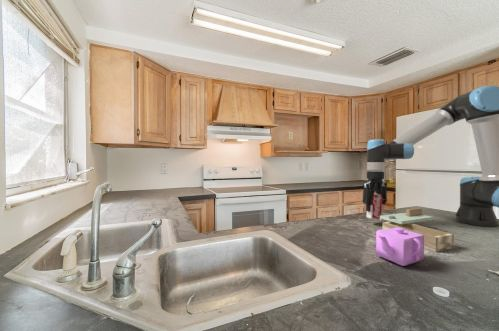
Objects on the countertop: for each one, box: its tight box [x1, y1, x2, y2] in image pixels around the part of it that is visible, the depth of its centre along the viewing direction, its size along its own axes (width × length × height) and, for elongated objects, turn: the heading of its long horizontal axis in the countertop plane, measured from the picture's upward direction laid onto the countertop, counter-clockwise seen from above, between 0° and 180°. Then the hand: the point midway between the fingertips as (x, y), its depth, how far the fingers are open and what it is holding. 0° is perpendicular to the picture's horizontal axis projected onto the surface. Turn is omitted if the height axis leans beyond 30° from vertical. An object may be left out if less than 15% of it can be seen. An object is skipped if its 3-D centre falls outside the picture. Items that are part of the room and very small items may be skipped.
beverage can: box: [371, 192, 382, 220], centre depth 109 cm, size 6×6×12 cm
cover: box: [379, 207, 434, 224], centre depth 98 cm, size 20×10×4 cm, turn 110°
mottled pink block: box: [375, 228, 425, 267], centre depth 70 cm, size 18×14×10 cm
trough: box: [381, 221, 455, 253], centre depth 86 cm, size 10×20×5 cm, turn 20°
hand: (374, 217), depth 109 cm, fingers closed on beverage can, 6 cm apart
